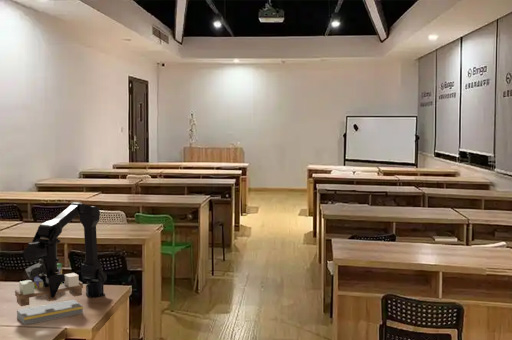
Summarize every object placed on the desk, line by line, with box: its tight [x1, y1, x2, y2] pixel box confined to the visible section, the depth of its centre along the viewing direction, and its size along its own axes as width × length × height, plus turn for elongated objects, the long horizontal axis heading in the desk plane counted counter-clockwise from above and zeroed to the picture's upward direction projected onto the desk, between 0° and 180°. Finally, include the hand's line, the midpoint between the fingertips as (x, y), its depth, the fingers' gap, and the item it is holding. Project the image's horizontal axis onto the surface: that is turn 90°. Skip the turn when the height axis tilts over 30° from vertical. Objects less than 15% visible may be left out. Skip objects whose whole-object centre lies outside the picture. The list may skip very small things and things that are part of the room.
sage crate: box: [18, 279, 34, 295], centre depth 209 cm, size 4×5×4 cm
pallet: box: [14, 280, 84, 307], centre depth 214 cm, size 24×6×5 cm, turn 128°
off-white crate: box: [63, 272, 80, 287], centre depth 219 cm, size 4×5×4 cm
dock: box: [16, 299, 84, 326], centre depth 215 cm, size 22×10×3 cm, turn 128°
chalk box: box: [33, 262, 63, 289], centre depth 248 cm, size 9×9×15 cm
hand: (50, 295), depth 214 cm, fingers closed on pallet, 6 cm apart
